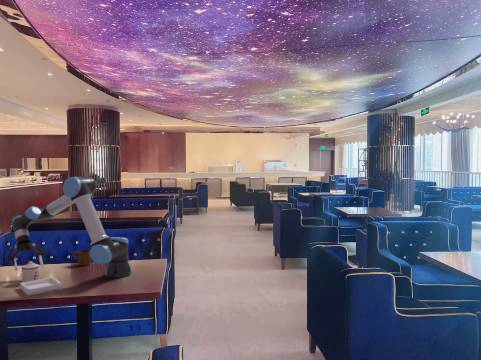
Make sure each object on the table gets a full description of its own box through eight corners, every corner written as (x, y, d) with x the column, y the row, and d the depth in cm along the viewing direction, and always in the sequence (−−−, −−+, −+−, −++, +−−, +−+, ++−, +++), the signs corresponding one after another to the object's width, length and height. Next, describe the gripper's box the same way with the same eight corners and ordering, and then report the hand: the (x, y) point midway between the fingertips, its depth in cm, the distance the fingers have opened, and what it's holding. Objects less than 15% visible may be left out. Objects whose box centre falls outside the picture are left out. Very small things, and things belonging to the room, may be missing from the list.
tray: (62, 289, 216) (62, 283, 216) (28, 295, 205) (28, 290, 205) (53, 282, 229) (53, 277, 229) (20, 288, 218) (20, 282, 218)
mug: (70, 266, 267) (70, 252, 267) (74, 263, 274) (74, 249, 274) (88, 266, 268) (88, 252, 267) (92, 263, 275) (92, 249, 275)
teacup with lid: (37, 283, 227) (36, 263, 227) (19, 284, 225) (19, 263, 225) (42, 277, 239) (42, 258, 239) (26, 278, 237) (25, 259, 237)
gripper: (43, 239, 254) (51, 267, 243) (-2, 244, 238) (4, 274, 227) (45, 232, 250) (53, 260, 239) (0, 236, 233) (6, 267, 223)
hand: (29, 267), depth 233 cm, fingers open, 13 cm apart
